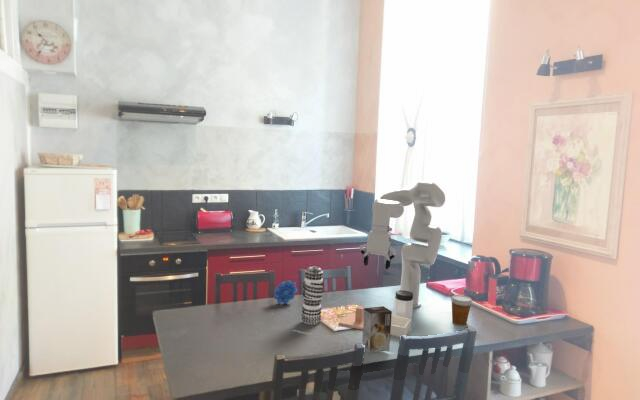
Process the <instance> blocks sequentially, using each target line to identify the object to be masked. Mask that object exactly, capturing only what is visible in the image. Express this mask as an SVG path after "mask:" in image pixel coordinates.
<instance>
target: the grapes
mask: <svg viewBox="0 0 640 400" xmlns="http://www.w3.org/2000/svg"><path fill="white" fill-rule="evenodd" d="M296 285H297V284H296V281H295V282H292V281H291V279H287V280H286V281H281V282H280V283H279V284H278V286H277V287H276V288H275V289H274V293H275V294H274V296H273V299H274V300H276V302H277V304H284V305H286V304H288V303H289V302H290V301H293V299H294V298H295V294H297V293H298V289H297V286H296Z"/></svg>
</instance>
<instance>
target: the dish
mask: <svg viewBox="0 0 640 400" xmlns="http://www.w3.org/2000/svg"><path fill="white" fill-rule="evenodd" d="M412 321H413V319H409V318H405V317H400V316H395V315H393V314H392V315H391V330H390V336H393V337H397V338H401V337H400V336H401V335H407V336H408V335H409V334H410V332H411V330H412Z"/></svg>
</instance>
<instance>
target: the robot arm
mask: <svg viewBox="0 0 640 400" xmlns="http://www.w3.org/2000/svg"><path fill="white" fill-rule="evenodd" d="M445 201H446V195H445V193H444V191H443V190H442V188H440V187H439V186H438V184H436V183H434V182H432V181H429V180H427V181H426V180H419V179H417V180H411V181H410V182H409V183H407V184H406V185H404V187H402V188H401V189H398V190H393V191H390V192H386V193H383V194H382V195H379V197H377V198H376V199H375V200H374V202H373V203H372V205H371V206H372V207H371V208H372V209H371V210H372V212H373V213H372V220H371V221H372V223H371V230H370V231H369V234H368V237H367V242H366V243H364V244H360V245H359V246H358V247H359V250H360V253H361V254H362V256H363V264H364V266H365V267H366V266H368V265H369V255H370V254H371V255H377V256H383V257H385V259H386V260H385V268H384V269H385V270H388V269H389V268H390V267H391V260H393V259H394V258H395V257H396V255H397V254H398V250H396V249H395V248H394V247H392V246H391V243H392V241H391V239H392V237H391V232H392V231H393V228H392V227H390V221H391V220H390V219H391V218H393V219H398V218H400V217H402V216H403V214H404V211H405V208H404V207H407V206H410V205H413V207H414V218H413V220H412V224H411V226H410V231H409V238H410V240H411V241H414V242H406V243H404V244H403V246H402V247H401V278H400V290H404V291H409V292H412V293H413V309H417V308H419V307H421V306H422V302H421V301H420V300H419V297H420V296H419V295H420V287H421V275H422V272H421V271H422V270H421V268H420V265H423V266H432V265H434V264H435V262H436V259H437V256H438V253H439V249H440V245H441V241H442V236H443V232H442V230H441V228H440V227H439V226H436V225H431V223H432V213H431V211H430V209H429V208H428V207H432V208H441V207H443V206H444V204H445ZM415 242H417V243H415ZM420 243H422V244H420ZM424 244H427V245H424ZM365 247H366V248H365ZM365 249H366V250H365ZM391 253H392V254H391Z"/></svg>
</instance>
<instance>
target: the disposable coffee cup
mask: <svg viewBox="0 0 640 400" xmlns="http://www.w3.org/2000/svg"><path fill="white" fill-rule="evenodd" d="M450 301H451V314H452V315H451V317H452V320H451V321H452V323H453V324H454V325H457V326H467V323H468V319H469V314H470V310H471V306H472V304H473V301H472V298H471V297H469V296H466V295H462V294H461V295H460V294H455V295H454V294H453V295H452V296H451V298H450Z"/></svg>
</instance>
